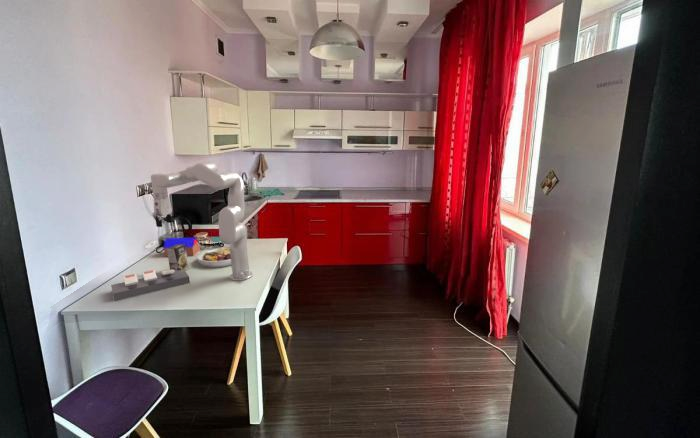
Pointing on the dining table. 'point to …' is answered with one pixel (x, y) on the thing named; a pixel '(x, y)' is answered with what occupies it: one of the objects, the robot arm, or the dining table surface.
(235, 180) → the robot arm
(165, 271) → the rocker right
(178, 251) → the coffee box
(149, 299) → the dining table surface
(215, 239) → the cutlery set
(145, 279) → the rocker middle
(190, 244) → the house
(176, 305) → the dining table surface
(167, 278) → the grey switch panel
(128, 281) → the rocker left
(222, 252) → the bowl
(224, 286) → the dining table surface
